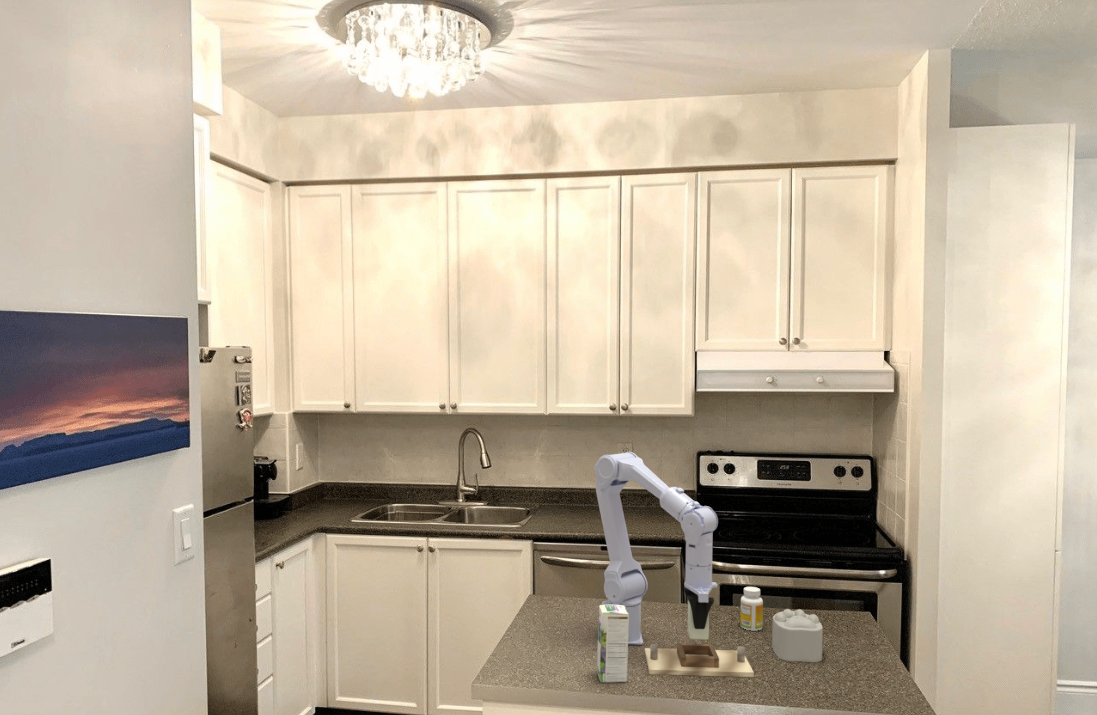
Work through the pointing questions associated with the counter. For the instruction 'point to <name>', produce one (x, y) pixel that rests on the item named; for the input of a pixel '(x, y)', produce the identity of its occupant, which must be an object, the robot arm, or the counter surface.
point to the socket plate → (698, 661)
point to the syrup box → (612, 643)
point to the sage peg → (697, 633)
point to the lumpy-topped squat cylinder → (797, 636)
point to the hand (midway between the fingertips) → (697, 624)
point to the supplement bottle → (751, 609)
